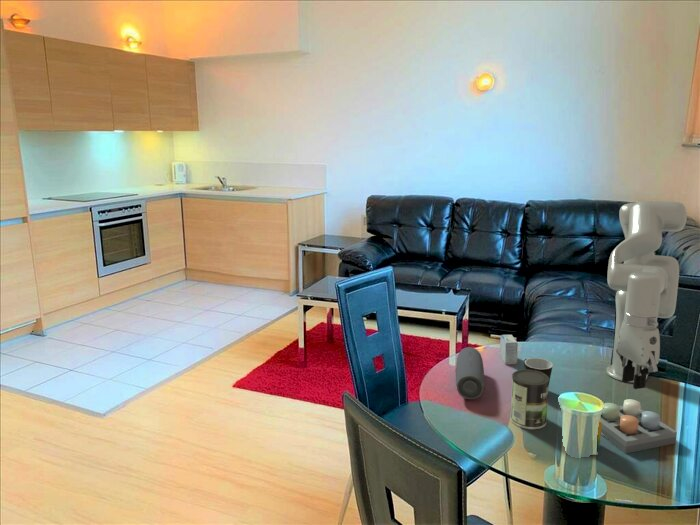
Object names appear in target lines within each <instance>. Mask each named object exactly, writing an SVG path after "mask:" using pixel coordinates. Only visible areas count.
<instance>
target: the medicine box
mask: <svg viewBox="0 0 700 525" xmlns="http://www.w3.org/2000/svg"><path fill="white" fill-rule="evenodd" d="M499 342H500V343H499V347H500V348H499V356H500V358H501V360H502V361H503V363H504V364H505V365H506V366H507V365H508V366H509V365H518V348H519V347H518V346H519V345H518V344H519V343H518V341H517V340H516V339H515V338H514V336H513V334H501V335H500V340H499Z"/></svg>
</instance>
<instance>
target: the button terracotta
mask: <svg viewBox="0 0 700 525" xmlns="http://www.w3.org/2000/svg"><path fill="white" fill-rule="evenodd" d="M638 423H639V420H638V419H637V418H636V417H634V416H631V415H622V416H621V418H620V427H619V428H620V430H621V431H622V432H624V433H627V434H636V433H637V432H638Z"/></svg>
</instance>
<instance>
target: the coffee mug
mask: <svg viewBox="0 0 700 525" xmlns="http://www.w3.org/2000/svg"><path fill="white" fill-rule="evenodd" d="M523 365H524V369H529V370H536V371H540V372H542V373H544V374H546V375H547V376H548V377H549V379H550V380H551V378H552V377H551V376H552V371H553V367H554V365H553V362H551V361H550V360H548V359H545V358H540V357H530V358H525V359H524V360H523ZM550 380H549V383H550Z"/></svg>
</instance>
